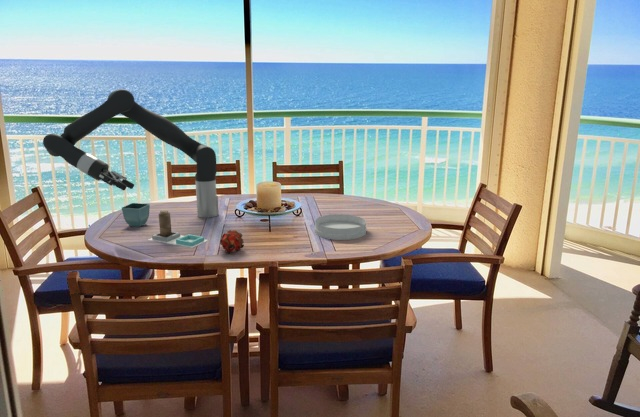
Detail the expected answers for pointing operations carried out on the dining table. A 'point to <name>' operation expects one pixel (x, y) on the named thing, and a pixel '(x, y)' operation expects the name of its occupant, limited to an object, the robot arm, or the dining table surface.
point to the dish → (340, 226)
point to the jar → (165, 223)
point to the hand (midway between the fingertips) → (129, 187)
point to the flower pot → (136, 214)
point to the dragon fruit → (232, 241)
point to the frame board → (179, 239)
